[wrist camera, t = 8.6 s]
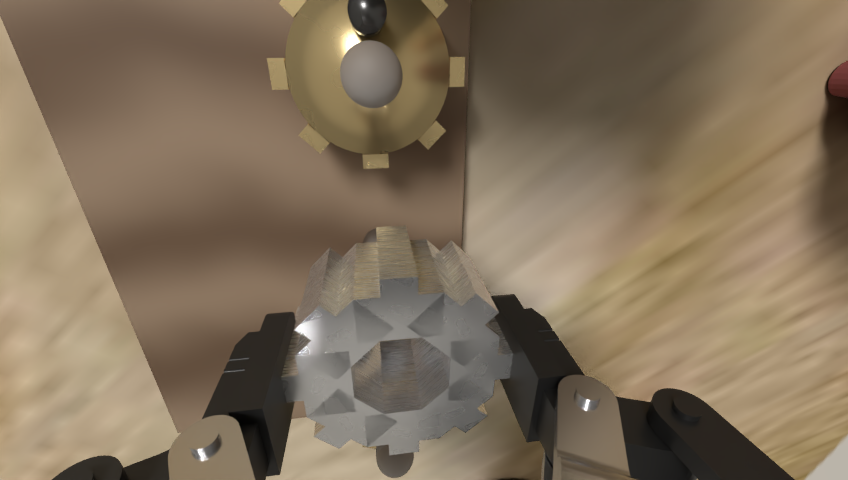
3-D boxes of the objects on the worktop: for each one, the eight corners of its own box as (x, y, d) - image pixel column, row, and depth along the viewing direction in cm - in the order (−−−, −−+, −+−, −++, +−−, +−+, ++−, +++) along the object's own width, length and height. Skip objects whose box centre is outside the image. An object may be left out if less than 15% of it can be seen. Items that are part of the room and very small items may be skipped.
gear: (445, 148, 16) (475, 179, 12) (299, 153, 16) (273, 189, 11) (448, -23, 14) (489, -64, 9) (272, -26, 13) (224, -74, 8)
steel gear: (490, 221, 12) (527, 269, 9) (477, 369, 14) (502, 440, 12) (284, 232, 11) (257, 288, 8) (311, 387, 14) (298, 467, 11)
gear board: (451, 385, 24) (485, 509, 17) (185, 417, 22) (108, 570, 15) (466, -29, 15) (550, -106, 8) (1, -40, 13) (-408, -157, 6)
